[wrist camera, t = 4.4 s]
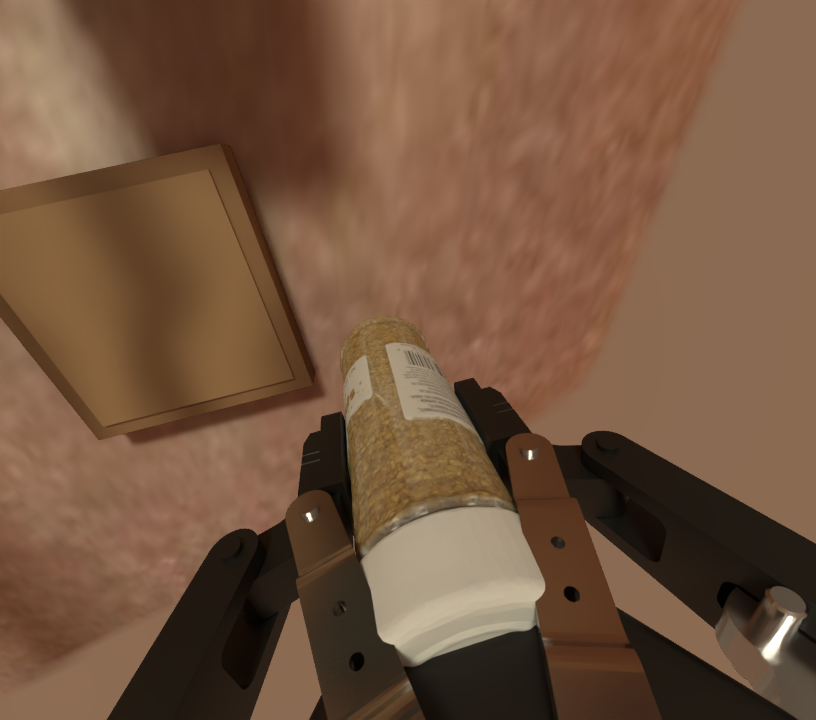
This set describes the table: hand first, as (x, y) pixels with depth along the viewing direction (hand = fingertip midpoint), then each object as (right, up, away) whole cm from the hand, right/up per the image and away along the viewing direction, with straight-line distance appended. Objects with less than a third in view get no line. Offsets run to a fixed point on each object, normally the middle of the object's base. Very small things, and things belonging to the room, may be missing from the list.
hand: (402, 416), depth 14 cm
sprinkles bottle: (-1, +2, +5) cm, 6 cm away
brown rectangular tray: (-12, +5, +5) cm, 14 cm away
